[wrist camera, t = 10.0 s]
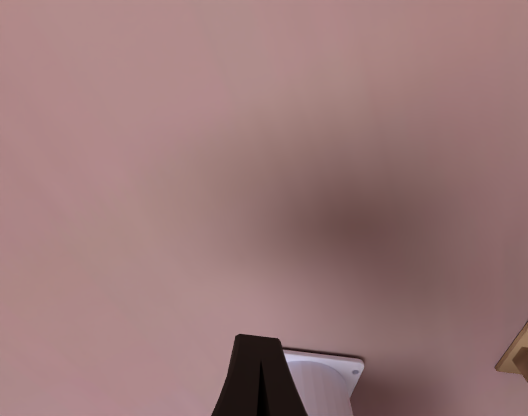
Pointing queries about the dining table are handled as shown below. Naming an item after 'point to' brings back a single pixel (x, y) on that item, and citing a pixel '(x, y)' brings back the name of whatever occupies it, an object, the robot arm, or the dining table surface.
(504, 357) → the chute
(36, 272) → the dining table surface
